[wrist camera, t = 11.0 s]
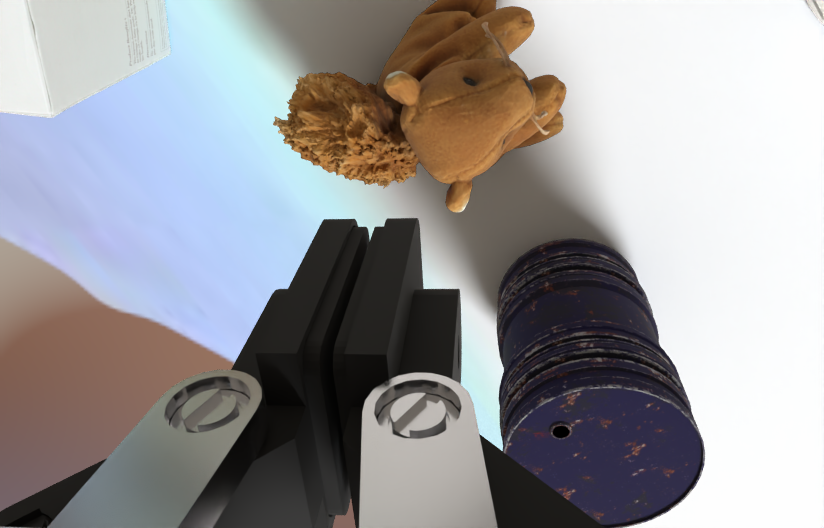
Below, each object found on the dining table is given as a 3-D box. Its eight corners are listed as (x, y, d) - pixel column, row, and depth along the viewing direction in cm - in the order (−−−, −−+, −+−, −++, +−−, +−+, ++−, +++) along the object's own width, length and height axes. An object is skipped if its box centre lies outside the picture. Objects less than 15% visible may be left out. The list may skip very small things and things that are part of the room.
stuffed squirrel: (574, 123, 39) (612, 216, 28) (365, 202, 43) (321, 312, 31) (519, -45, 35) (536, -19, 23) (293, 58, 39) (213, 124, 27)
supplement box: (29, -89, 36) (-169, -84, 25) (159, -78, 36) (16, -68, 25) (56, 48, 40) (-107, 104, 29) (174, 59, 39) (54, 121, 28)
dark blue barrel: (673, 299, 44) (751, 465, 31) (565, 380, 48) (595, 556, 35) (570, 208, 42) (610, 347, 29) (466, 301, 46) (459, 460, 33)
